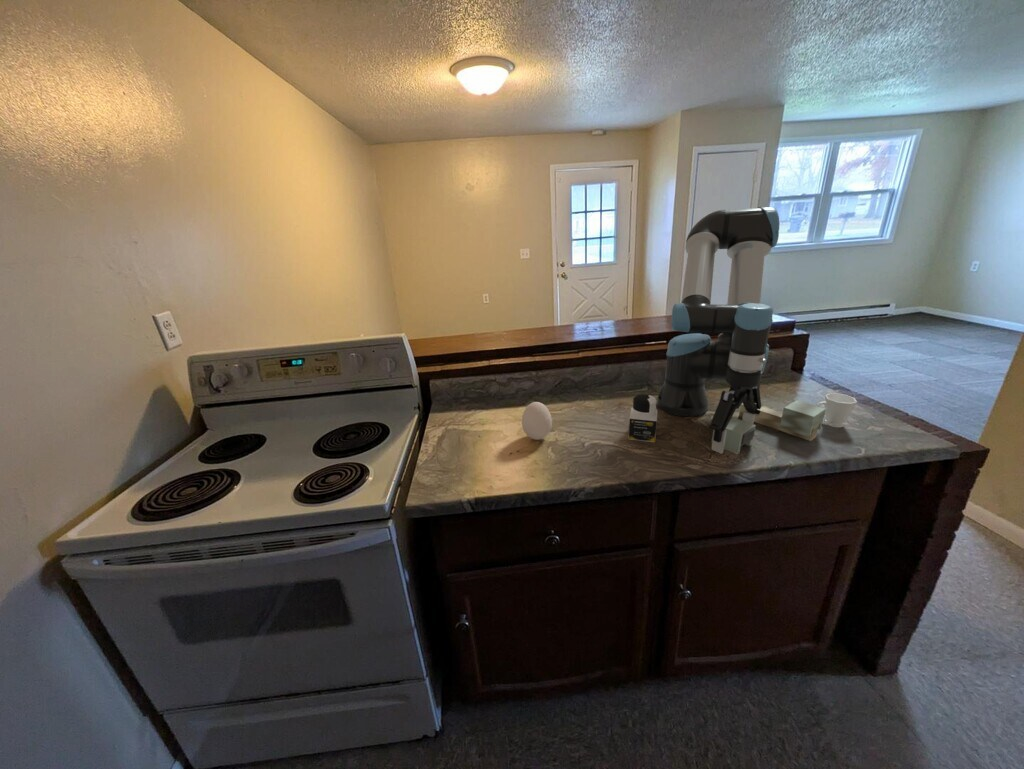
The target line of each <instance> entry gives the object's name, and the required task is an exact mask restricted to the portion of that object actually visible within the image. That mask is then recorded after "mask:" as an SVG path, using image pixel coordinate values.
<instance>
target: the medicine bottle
mask: <svg viewBox="0 0 1024 769" xmlns="http://www.w3.org/2000/svg"><path fill="white" fill-rule="evenodd" d="M657 425H658V408H657V398H655V397H654V396H653V395H651V394H646V393H643V394H638V395H635V396H634V397H633V400H632V406H631V409H630V413H629V423H628V440H631V441H639V442H647V443H655V442H656V438H657V437H656V436H657Z"/></svg>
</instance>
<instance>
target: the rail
mask: <svg viewBox="0 0 1024 769" xmlns="http://www.w3.org/2000/svg"><path fill="white" fill-rule="evenodd" d="M815 405H816V404H815ZM815 405H814V404H811V403H807V402H804V401H801V400H797V399H796V400H794V401H793V402H791V403H789V404H788V405H786V406H784V408H783V411H782V412H781V411H779V410H775V409H773V408H772V409H771V408H769V407H766V406H762V405H761V408H760V409H757V410H760V414H755V419H754V423H757V424H760V425H763V426H766V427H769V428H772V429H774V430H777V431H781V432H783V433H786V434H789V435H791V436H795V437H797V438H800V439H803V440H806V441H809V442H812V441H813V440H814V439H815V438H816V437H817V434H818V431H819V430H821V429H822V425H823V424H822V422H824V419H825V411H826V409H825V407H822V406H819V407H818V406H815ZM744 411H746V409H745V407H744V405H743V403H742V404H741V405H740V407H739V414H738V417H739V418H743V412H744ZM746 412H747V411H746Z"/></svg>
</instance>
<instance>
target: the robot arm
mask: <svg viewBox="0 0 1024 769" xmlns="http://www.w3.org/2000/svg"><path fill="white" fill-rule="evenodd" d="M779 234H780V216H779V212H778V210H777V209H776V208H774V207H771V206H770V207H769V206H768V207H762V206H758V207H756V208H755V207H754V208H752V207H751V208H738V209H737V208H735V209H721V210H715V211H712V212H711V213H710V212H709V213H708V214H707V215H705V216H704V217H702V218H701V219H700V220H699V221H697V222H696V223H695V224H694V226H693V227H692V228H691V230H690V231H689V233H688V235H687V236H686V240H685V248H684V249H685V252H686V254H687V258H686V265H685V274H684V281H683V287H682V294H681V300H680V301H681V302H680V303H674V305H673V306H672V310H671V311H672V312H671V320H670V328H671V330H673V331H675V332H683V333H686V334H680V335H677V336H674V337H673V338H671V339H670V341H669V342H668V344H667V345H668V346H667V351H666V353H665V354H666V364H665V374H664V382H663V384H662V387H661V388H660V391H659V392H658V396H657V398H656V407H657V408H659V409H660V410H661V411H662V412H665V413H667V414H670V415H674V416H680V417H695V416H696V417H697V416H702V415H703V414H705V413H706V412H707V411H708V407H709V400H708V396H707V393H706V387H705V383H706V380H715V381H717V380H718V381H726V382H727V383H728V384H729V386H730V387H729V389H728V391H727V390H726V391H725V390H723V391H722V392H721V395H720V398H719V402H718V404H717V406H716V409H715V411H714V414H713V416H712V419H711V421H710V424H709V429H711V430H714V436H713V435H712V437H713V443H712V442H711V450H712V451H714V452H716V453H719V454H724V450H725V449H724V445H725V439H726V433H727V430H725V429H726V427H727V425H728V423H729V421H730V419H731V417H733V416H734V414H735V412H736V410H737V409H740V407H741V404H742V403H743V405H744V407H745V409H746V411H747V412H746V411H744V412H743V417H741V420H742V421H745V422H748V423H751V424H754V423H755V422H754V419H755V414H760V410H757V409H760V408H761V406H762V401H761V391H760V390H761V389H760V385H761V379H762V375H763V373H764V370H765V367H766V364H767V361H768V357H769V352H770V345H769V344H768V341H769V335H770V332H771V326H772V324H773V314H774V309H773V307H772V306H771V305H769V304H765V303H761V297H762V287H763V276H764V266H765V263H764V262H765V257H767V256H768V255H769V254H770V252H771V250H772V248H775V247H776V246H777V245H778V241H779V236H780V235H779ZM718 250H726V254H727V256H728V257H729V258H730V259H731V266H730V275H729V283H728V284H729V285H728V296H727V304H714V303H713V304H711V303H712V302H711V301H712V290H713V278H714V267H715V258H716V257H715V256H716V253H717V252H718ZM703 333H704V334H703ZM706 333H707V334H706ZM709 333H711V334H718V336H717V340H712V338H711V336H710V335H709ZM754 425H755V424H754Z"/></svg>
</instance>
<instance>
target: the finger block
mask: <svg viewBox="0 0 1024 769" xmlns="http://www.w3.org/2000/svg"><path fill="white" fill-rule="evenodd" d="M756 426H757V425H756V424H751V423H748V422H745V421H742V419H739V418H737V417H733V416H732V417H731V419H730V421H729V423H728V425H727V427H726V429H725V430H727V433H726V439H725V445H724V450H726V451H730V453H734V454H736V455H738V454H740V452H741V447H742V446H744V445H745V446H748V447H751V446H752V444H753V440H754V435H755V431H756ZM712 430H713V429H712ZM713 436H714V430H713V432H712V438H711V444H712V443H713Z"/></svg>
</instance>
